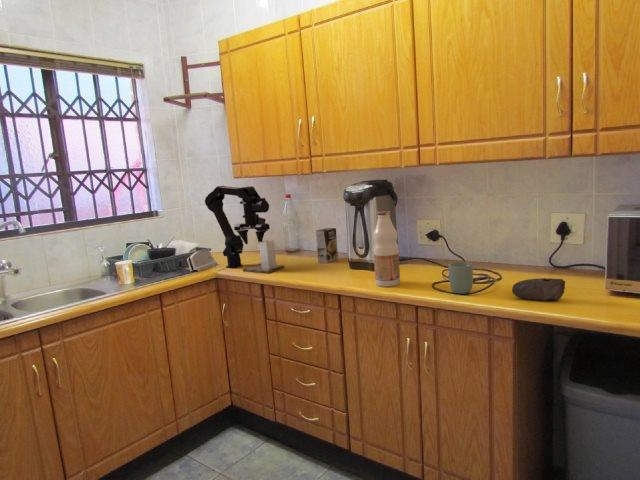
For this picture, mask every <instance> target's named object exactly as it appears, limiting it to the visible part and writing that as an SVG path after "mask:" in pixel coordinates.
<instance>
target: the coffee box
mask: <svg viewBox="0 0 640 480" xmlns="http://www.w3.org/2000/svg"><path fill="white" fill-rule="evenodd" d="M315 236H316V250H317V251H316V252H317V262H318V263H323V264H330V263H332V262H335V261H337V260H339V253H338V250H339V249H338V239H337V228H336V227H329V228H322V229H318V230H315Z"/></svg>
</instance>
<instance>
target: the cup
mask: <svg viewBox="0 0 640 480" xmlns="http://www.w3.org/2000/svg"><path fill="white" fill-rule="evenodd" d="M448 280H449V281H448V282H449V286H450V289H451V291H452V292H453V293H455V294H457V293H458V295H465V294H469V293H470V292H471V291H472V289H473V285H474V284H473V283H474V265H473V263H472V262H469V261H453V262H449V264H448Z"/></svg>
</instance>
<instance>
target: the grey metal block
mask: <svg viewBox="0 0 640 480" xmlns="http://www.w3.org/2000/svg"><path fill="white" fill-rule="evenodd" d="M186 261H187V264H188V267H189V271H190V272H191V271H192V272H194V270H195V271H197V272H198V271H200V272H202V271H204V269H205V270H207V269H210V268H212V267H215V266H218V265H219V264H218V261H216V260H215V259H214V257H213V255H212V253H211V251H209V250H199V251H195V252H194V253H192V254H191V255H190V256H188V258H186ZM201 270H202V271H201Z"/></svg>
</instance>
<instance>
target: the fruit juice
mask: <svg viewBox="0 0 640 480" xmlns="http://www.w3.org/2000/svg"><path fill="white" fill-rule="evenodd" d="M376 216H377V222H376V226H375V228H374V230H373V234H372V239H373V241H374V245H373V258H374V259H373V262H374V278H375V279H374V280H375V285H376V286H378V287H383V288H384V287H385V288H389V287H390V288H391V287H397V286H399V285H400V283H401V274H400V273H401V272H400V271H401V270H400V253H399V252H400V251H399V245H398V243H397V239H398V232H397V230H396V228H395V227H394V224H393V222H392V219H391V210H384V211H377V212H376Z"/></svg>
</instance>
